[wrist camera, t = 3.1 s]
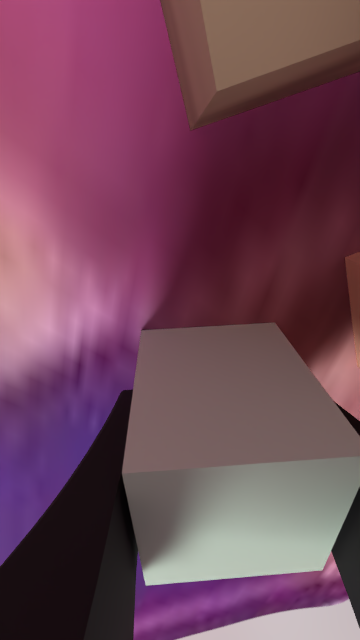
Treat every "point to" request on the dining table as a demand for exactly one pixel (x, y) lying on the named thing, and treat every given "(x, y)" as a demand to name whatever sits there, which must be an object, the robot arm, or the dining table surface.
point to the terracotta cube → (354, 297)
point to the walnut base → (257, 51)
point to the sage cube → (234, 456)
